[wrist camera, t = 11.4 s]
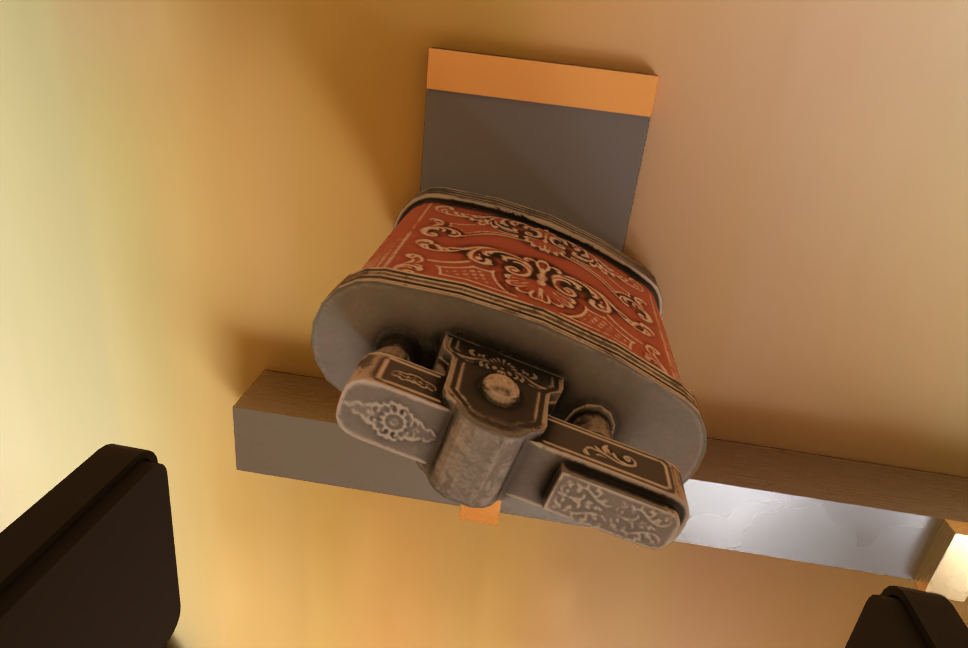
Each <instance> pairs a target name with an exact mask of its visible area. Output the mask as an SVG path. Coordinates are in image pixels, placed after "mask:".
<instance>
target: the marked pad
mask: <svg viewBox="0 0 968 648" xmlns="http://www.w3.org/2000/svg"><path fill="white" fill-rule="evenodd" d="M658 81H659V76H658V75H651V74H643V73H635V72H627V71H619V70H611V69H603V68H595V67H587V66H579V65H570V64H562V63H554V62H546V61H538V60H530V59H522V58H514V57H506V56H498V55H490V54H482V53H474V52H466V51H458V50H449V49H441V48H433V47H432V48H429V55H428V70H427V85H426V88H427V95H426V110H425V124H424V139H423V154H422V169H421V183H420V192H422V191H424V190H426V189H429V188H431V187H446V188H451V189H456V190H461V191H466V192H471V193H476V194H481V195H487V196H492V197H497V198H500V199H503V200H506V201H509V202H513V203H516V204H519V205H522V206H525V207H528V208H531V209H534V210H537V211H541V212H544V213H547V214H550V215H552V216H554V217H556V218H559V219H561V220H563V221H565V222H567V223H569V224H571V225H573V226H575V227H577V228H579V229H581V230H583V231H585V232H587V233H590V234H592V235H594V236H596V237H598V238H600V239H602V240H603V241H605V242H606V243H608V244H610V245H611V246H613V247H614V248H616V249H617V250H619V251H620V252H623V247H624V242H625V238H626V233H627V228H628V223H629V218H630V213H631V209H632V204H633V199H634V194H635V189H636V185H637V180H638V175H639V170H640V165H641V161H642V156H643V151H644V146H645V141H646V137H647V132H648V127H649V122H650V117H651V115H652V110H653V105H654V101H655V96H656V91H657V86H658Z"/></svg>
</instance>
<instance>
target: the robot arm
mask: <svg viewBox="0 0 968 648" xmlns="http://www.w3.org/2000/svg"><path fill="white" fill-rule="evenodd" d="M180 607H181V605H180V595H179V585H178V575H177V565H176V555H175V545H174V536H173V526H172V516H171V506H170V496H169V486H168V476H167V470H166V468H165V466H164V465H163V464H159V463H158V461H157V457H156V455H155V454H154V453H153V452H151V451H149V450H144V449H138V448H133V447H127V446H122V445H116V444H108V445H105V446H103V447H102V448H100V449H99V450H98V451H96V452H95V453H94V454H93V455H92V456H91V457H89V458H88V459H87V460H86V461H85V462H83V463H82V464H81V465H80V466H79V467H78V468H76V469H75V470H74V471H73V472H72V473H71V474H69V475H68V476H67V477H66V478H65V479H63V480H62V481H61V482H60V483H59V484H58V485H56V486H55V487H54V488H53V489H52V490H50V491H49V492H48V493H47V494H46V495H45V496H43V497H42V498H41V499H40V500H39V501H38V502H36V503H35V504H34V505H33V506H32V507H30V508H29V509H28V510H27V511H26V512H25V513H23V514H22V515H21V516H20V517H19V518H17V519H16V520H15V521H14V522H13V523H12V524H10V525H9V526H8V527H7V528H6V529H5V530H3V531H2V532H1V533H0V648H163V647H164V646H165V644H166V643H167V641H168V640H169V638H170V637H171V635H172V634H173V632H174V630H175V628H176V626H177V623H178V620H179V616H180ZM845 648H968V628H967V626H966V625H965V623H964V622H963V620H962V619H961V617H960V616H959V614H958V613H957V611H956V610H955V608H954V606H953V605H952V604H951V603H950V601H949V600H948V599H947V598H946V597H944V596H942V595H941V594H937V593H932V592H926V591H921V590H915V589H910V588H904V587H899V586H889V587H887V588H885V589H884V590H883V592H882V593H881V595H872V596H871V597H869V599H868V600H867V602H866V604H865V606H864V608H863V610H862V612H861V614H860V617H859V619H858V621H857V623H856V625H855V627H854V630H853V632H852V634H851V636H850V638H849V640H848V642H847V645H846V647H845Z"/></svg>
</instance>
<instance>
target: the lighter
mask: <svg viewBox="0 0 968 648" xmlns="http://www.w3.org/2000/svg"><path fill="white" fill-rule="evenodd" d="M661 317H662V297H661V294H660V291H659V288H658V286H657V283H656V281H655V278H654V276H653V275H652V274H651V273H650V272H649V271H648V270H647V269H646V268H645V267H644V266H642V265H641V264H639V263H638V262H636V261H634V260H633V259H631V258H630V257H628V256H627V255H625V254H624V253H622V252H620V251H619V250H617V249H616V248H614V247H613V246H611V245H610V244H608V243H606V242H605V241H603V240H602V239H600V238H598V237H596V236H594V235H592V234H590V233H587V232H585V231H583V230H581V229H579V228H577V227H575V226H573V225H571V224H569V223H567V222H565V221H563V220H561V219H559V218H556V217H554V216H552V215H550V214H547V213H544V212H541V211H537V210H534V209H531V208H528V207H525V206H522V205H519V204H516V203H513V202H509V201H506V200H503V199H500V198H497V197H492V196H487V195H481V194H476V193H471V192H466V191H461V190H456V189H451V188H446V187H431V188H429V189H426V190H424V191H422V192H419V193H418V194H417V195H416V196H414V197H413V198H412V199H411V200H410V201H409V202H408V203H407V204H406V205H405V207H404V208H403V209H402V210H401V212H400V214H399V216H398V217H397V219H396V221H395V223H394V227H393V231H392V233H391V234H390V235H389V236H388V238H387V239H386V240H385V241H384V242H383V244H382V245H381V246H380V247H379V249H378V250H377V251H376V252H375V254H374V255H373V256H372V257H371V258H370V260H369V261H368V262H367V263H366V265H365V266H364V267H363V268H362V270H359V271H357V272H354V273H352V274H349V275H348V276H347V277H346V278H345V279H344V280H343V281H342V282H341V283H340V284H339V285H337V286H336V287H335V288H334V289H333V291H332V292H331V293H330V294H329V295H328V296H327V298H326V299H325V300H324V301H323V302H322V304H321V306H320V308H319V310H318V312H317V314H316V316H315V318H314V320H313V327H312V336H311V345H312V349H313V353H314V358H315V362H316V364H317V365H318V367H319V369H320V370H321V372H322V373H323V375H324V377H325V378H326V380H328V381H329V382H330V383H331V384H332V385H334V386H335V387H336V388H337V389H338V390H340V391H341V392H342V394H341V395H340V398H339V401H338V405H337V410H336V419H337V422H338V425H339V426H340V427H341V428H342V430H343V431H344V432H345V433H347V434H349V435H351V436H353V437H355V438H357V439H359V440H361V441H364V442H367V443H369V444H372V445H375V446H377V447H380V448H383V449H385V450H388V451H391V452H393V453H396V454H399V455H401V456H404V457H407V458H409V459H412V460H415V461H416V463H417V465H418V466H419V468H420V469H421V470H422V471H423V472H424V473H425V474H426V475H427V478H428V481H429V483H430V484H431V486H432V487H433V488H434V490H436V491H437V492H438V493H439V494H441V495H442V496H443V497H445V498H446V499H449V500H452V501H454V502H457V503H460V504H462V505H465V506H468V507H470V508H485V507H488V506H491V505H492V504H494V503H495V502H496V501H499V500H506V499H509V498H510V497H513V498H516V499H519V500H521V501H524V502H526V503H529V504H532V505H534V506H537V507H540V508H542V509H545V510H547V511H550V512H553V513H555V514H558V515H561V516H563V517H566V518H569V519H571V520H574V521H577V522H579V523H582V524H585V525H587V526H590V527H593V528H595V529H598V530H601V531H603V532H606V533H609V534H611V535H614V536H616V537H619V538H622V539H624V540H627V541H630V542H632V543H635V544H638V545H640V546H643V547H646V548H650V549H654V550H655V549H662V548H664V547H666V546H667V545H669V544H671V543H672V542H673V541H674V540H675V539H676V538H677V537H678V536H679V535H680V533H681V532H682V530H683V529H684V527H685V526H686V524H687V521H688V519H689V517H690V514H689V506H688V502H687V498H686V494H685V490H684V486H683V485H684V484H685V483H686V482H687V481H688V480H689V479H690V477H691V476H692V475H693V474H694V473H695V472H696V471H697V470H698V468H699V466H700V463H701V461H702V459H703V457H704V454H705V452H706V439H707V431H706V428H705V425H704V422H703V419H702V416H701V413H700V410H699V408H698V405H697V403H696V400H695V397H694V395H693V394H692V393H691V392H690V391H689V390H688V389H687V388H686V387H685V386H684V385H683V384H682V383H681V381H680V378H679V374H678V371H677V368H676V365H675V362H674V358H673V355H672V352H671V349H670V345H669V342H668V339H667V336H666V333H665V329H664V326H663V323H662V320H661Z"/></svg>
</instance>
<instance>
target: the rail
mask: <svg viewBox="0 0 968 648" xmlns="http://www.w3.org/2000/svg"><path fill="white" fill-rule="evenodd" d="M341 394H342V392H341V391H340V390H338V389H337V388H336V387H335V386H334V385H332V384H331V383H330V382H329V381H328V380H326V379H320V378H314V377H307V376H301V375H294V374H288V373H281V372H275V371H268V370H264V371H263V372H262V374H261V375H260V376H259V377H258V378H257V379H256V381H255V382H254V383H253V384H252V385H251V386H250V388H249V389H248V390H247V391H246V392H245V393H244V395H243V396H242V397H241V398H240V399H239V400H238V402H237V403H236V404H235V405H234V406H233V419H234V435H235V451H236V467H237V470H242V471H248V472H254V473H260V474H266V475H272V476H279V477H285V478H291V479H297V480H303V481H309V482H315V483H322V484H328V485H334V486H340V487H346V488H352V489H358V490H365V491H371V492H377V493H383V494H389V495H395V496H401V497H408V498H414V499H420V500H426V501H432V502H438V503H444V504H451V505H457V506H461V508H460V516H459V519H461V520H467V521H473V522H479V523H485V524H492V525H498V519H499V512H500V513H506V514H512V515H518V516H524V517H530V518H537V519H543V520H549V521H555V522H561V523H567V524H573V525H580V526H586V527H590V526H587V525H585V524H582V523H579V522H577V521H574V520H571V519H569V518H566V517H563V516H561V515H558V514H555V513H553V512H550V511H547V510H545V509H542V508H540V507H537V506H534V505H532V504H529V503H526V502H524V501H521V500H519V499H516V498H513V497H510V498H509V499H506V500H499V501H496V502H495V503H494V504H492V505H491V506H488V507H485V508H470V507H468V506H465V505H462V504H460V503H457V502H454V501H452V500H449V499H446V498H445V497H443V496H442V495H441V494H439V493H438V492H437V491H436V490H434V488H433V487H432V486H431V484H430V483H429V481H428V478H427V475H426V474H425V473H424V472H423V471H422V470H421V469H420V468H419V466H418V465H417V463H416V461H415V460H412V459H409V458H407V457H404V456H401V455H399V454H396V453H393V452H391V451H388V450H385V449H383V448H380V447H377V446H375V445H372V444H369V443H367V442H364V441H361V440H359V439H357V438H355V437H353V436H351V435H349V434H347V433H345V432H344V431H343V430H342V428H341V427H340V426H339V425H338V422H337V419H336V410H337V405H338V401H339V398H340V395H341ZM683 486H684V490H685V494H686V498H687V502H688V506H689V514H690V517H689V519H688V521H687V524H686V526H685V527H684V529H683V530H682V532H681V533H680V535H679V536H678V537H677V538H676V539H675V540H674V541H678V542H684V543H690V544H696V545H702V546H709V547H715V548H721V549H727V550H733V551H739V552H745V553H752V554H758V555H764V556H770V557H776V558H782V559H788V560H795V561H801V562H807V563H813V564H819V565H825V566H831V567H838V568H844V569H850V570H856V571H862V572H868V573H874V574H880V575H887V576H893V577H899V578H905V579H911V580H914V582H915V584H916V585H917V587H918V588H919V590H921V591H926V592H932V593H937V594H941V595H942V596H944V597H946V598H947V599H949V600H955V601H961V602H964V601H965V599H966V598H967V596H968V478H964V477H958V476H951V475H945V474H938V473H932V472H925V471H919V470H912V469H906V468H899V467H893V466H886V465H880V464H873V463H867V462H860V461H854V460H847V459H841V458H834V457H828V456H821V455H815V454H808V453H802V452H795V451H789V450H782V449H776V448H769V447H763V446H756V445H750V444H743V443H737V442H730V441H724V440H717V439H711V438H707V439H706V452H705V454H704V457H703V459H702V461H701V463H700V466H699V468H698V470H697V471H696V472H695V473H694V474H693V475H692V476H691V477H690V479H689V480H688V481H687V482H686V483H685V484H684V485H683ZM592 528H593V527H592Z"/></svg>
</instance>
